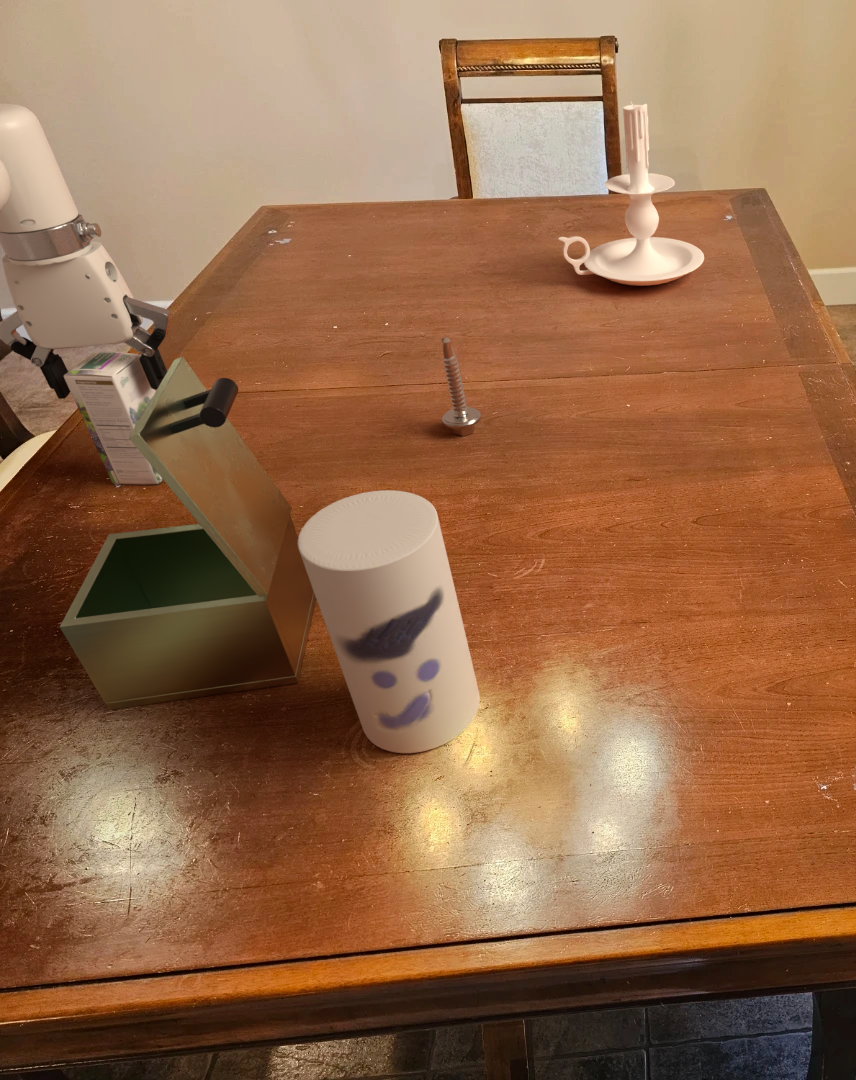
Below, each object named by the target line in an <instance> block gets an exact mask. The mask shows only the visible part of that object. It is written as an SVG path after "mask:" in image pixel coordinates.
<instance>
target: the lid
mask: <svg viewBox="0 0 856 1080" xmlns="http://www.w3.org/2000/svg"><path fill="white" fill-rule="evenodd" d="M155 391H156V392H155V394H154V396H153V397H152V399H151V401H150V402H149V404H148V406H147V408H146V409H145V411H144V413H143V414H142V416H141V418H140V419H139V421H138V423H137V425H136V426H135V428H134V430H133V431H132V433H131V435H130V437H129V438H130V440H131V441H132V442H133V443H134V445H135V446H136V447H137V448H138V449H139V451H140V452H141V453H142V454H143V456H144V457H145V458H146V459H147V461H148V462H149V463H150V464H151V465H152V467H153V468H154V469H155V470H156V472H157V473H158V474H159V475H160V476H161V478H162V479H163V480H162V481H164V483H165V484H166V485H167V486H168V487H169V489H170V490H171V491H172V493H173V494H174V495H175V496H176V497H177V499H178V500H179V501H180V503H181V504H182V505H183V506H184V507H185V509H187V511H188V512H189V513H190V515H191V516H192V517H193V518H194V519H195V521H196V522H197V524H200V525H201V527H202V528H203V529H204V530H205V532H206V533H207V534H208V535H209V536H210V538H211V539H212V540H213V541H214V543H215V544H216V545H217V546H218V547H219V549H220V550H221V551H222V552H223V554H224V555H225V556H226V557H227V558H228V560H229V561H230V562H231V563H232V565H233V566H234V567H235V568H236V570H237V571H238V572H239V573H240V574H241V576H242V577H243V578H244V579H245V581H246V582H247V583H248V584H249V585H250V587H251V588H252V589H253V590H254V592H255V593H256V594H257V595H258V596H259V597H262V596H265V595H267V594H268V592H269V588H270V585H271V581H272V578H273V574H274V571H275V567H276V563H277V560H278V556H279V553H280V549H281V546H282V542H283V538H284V535H285V531H286V528H287V524H288V521H289V517H290V516H291V514H292V510H293V507H292V505H291V504H290V503H289V502H288V500H287V499H286V498H285V496H284V495H283V493H282V492H281V491H280V489H279V488H278V486H277V485H276V484H275V482H274V480H273V479H272V478H271V477H270V475H269V474H268V472H267V471H266V469H265V468H264V467H263V466H262V464H261V463H260V462H259V460H258V459H257V457H256V455H255V454H254V453H253V452H252V450H251V449H250V448H249V446H248V444H247V443H246V442H245V441H244V439H243V438H242V436H241V435H240V434H239V432H238V431H237V429H236V428H235V427H234V426H233V425H234V424H232V423H231V421H230V419H228V417H229V414H230V411H231V409H232V407H233V404H234V402H235V400H236V398H237V395H238V393H239V386H238V384H237V383H236V381H234V380H233V379H231V378H230V377H229V378H228V377H220V378H217V379H216V380H215V381H214V382H213V385H212V387H211V389H207V388H206V387H205V385H204V384H203V382H202V381H201V380H200V378H199V377H198V375H197V374H196V373H195V371H194V370H193V369H192V367H191V366H190V364H189V363H188V362H187V360H186V359H185V357H184V356H181V357H178V358H175V359H173V361H172V363H171V365H170V367H169V368H168V369H167V373H166V375H165V377H164V378H163V380H162V382H161V384H160V385H159V387H158V389H156V390H155Z"/></svg>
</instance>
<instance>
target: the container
mask: <svg viewBox="0 0 856 1080" xmlns="http://www.w3.org/2000/svg"><path fill="white" fill-rule="evenodd" d="M438 515H439V514H438V512H437V509H436V508H435V506H434V505H433V503H431V501H429V500H428V499H427V498H424V497H423V496H421V495H418V494H415V493H412V492H408V491H402V490H388V489H387V490H385V489H384V490H383V489H382V490H373V491H367V492H362V493H357V494H353V495H350V496H347V497H343V498H341V499H339V500H337V501H334V502H332V503H330V504H328V505H326V506H325V507H323V508H321V509H320V510H318V511H317V512H316V513H315V514H313V515H312V516H311V517H310V518H309V519H308V520H307V521H306V522H305V523H304V525H303V526H302V528H301V529H300V531H299V534H298V535H297V536H298V549H299V551H300V554H301V557H302V560H303V563H304V565H305V568H306V571H307V574H308V577H309V579H310V582H311V585H312V588H313V591H314V593H315V596H316V602H317V605H318V606H319V610H320V613H321V616H322V618H323V621H324V625H325V627H326V629H327V633H328V635H329V638H330V641H331V644H332V646H333V650H334V652H335V654H336V655H335V656H336V658H337V660H338V663H339V666H340V669H341V672H342V675H343V677H344V680H345V683H346V685H347V688H348V692H349V694H350V697H351V699H352V700H351V701H352V702H353V703H352V704H353V705H354V708H355V711H356V714H357V717H358V719H359V722H360V725H361V729H362V731H363V734H364V735H365V736H366V738H367V739H368V740H369V741H370V742H371V743H372V744H373V745H374V746H377V747H378V748H380V749H381V750H385V751H387V752H391V753H399V754H413V753H421V752H422V753H423V752H426V751H430V750H433V749H436V748H438V747H441V746H443V745H445V744H447V743H449V742H450V741H452V740H454V739H456V738H457V737H458V736H459V735H461V734H462V733H463V732H464V731H465V730H467V728H468V727H469V726H470V725H471V723H473V721H474V720H475V718H476V715H477V714H478V712H479V709H480V703H481V694H480V690H479V686H478V681H477V677H476V673H475V670H474V669H475V668H474V665H473V661H472V656H471V652H470V648H469V643H468V639H467V635H466V631H465V626H464V622H463V617H462V613H461V609H460V605H459V599H458V597H457V593H456V588H455V583H454V580H453V575H452V571H451V570H452V569H451V567H450V566H451V565H450V562H449V557H448V553H447V550H446V545H445V541H444V537H443V532H442V528H441V523H440V520H439V516H438Z"/></svg>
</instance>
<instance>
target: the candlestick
mask: <svg viewBox="0 0 856 1080" xmlns="http://www.w3.org/2000/svg"><path fill="white" fill-rule="evenodd" d="M629 103H630V104H628V105H625V106H623V107H622V111H623V127H624V143H625V159H626V160H625V161H626V170H627V171H628V173H626V174H625V173H624V174H620V175H616V176H612V177H611V178H609V179H607V180H606V181H605V182H604V187H605V188H606V189H608V190H609V191H611V192H614V193H619V194H623V195H624V194H625V195H628V197H629V199H630V200H629V205H628V207H627V208H626V211H625V214H624V224H625V225H626V228H627V231H628V232H629V233H630V235H632V237H628V238H621V239H617V240H612V241H608V242H605V243H601V244H600V245H597V246H595V247H594V248H592V249H591V248H590V245H589V242H588V241H587V240H586V239H585V238H584V237H583V236H579V235H575V236H570V237H565V236H559V237H557V239H558V241H559V242H563V244H562V248H561V249H562V251H561V253H562V256H563V258H564V259H565V260H566V261H567V262H568V263H569V264H571V265H572V266H573V267H572V268H573V269H574V272H575V273H576V274H577V275H581V276H586V275H597V276H600V277H603V278H605V279H607V280H609V281H611V282H615V283H618V284H621V285H628V286H636V287H637V286H642V287H643V286H656V285H661V284H667V283H669V282H672V281H675V280H678V279H680V278H681V277H684V276H685V275H687V274H690V273H691V272H693V271H695V270H696V269H699V267H700V266H702V264H703V263H704V260H705V255H704V252H703V251H702V250H701V249H700V248H699V247H697V246H695V245H694V244H692V243H689V242H687V241H684V240H679V239H676V238H669V237H659V236H653V235H654V234H655V233H656V231H657V229H658V226H659V223H660V216H659V213H658V210H657V209H656V207H655V205H654V204H653V202H652V196H653V195H654V194H657V193H661V192H665V191H666V190H670V189H671V188H673V187H674V186H675V183H676V181H675V180H674V179H673V178H671V177H670V176H667V175H665V174H660V173H654V172H653V173H651V172H649V168H650V164H649V151H650V140H649V139H650V138H649V115H648V103H643V104H633V102H632V101H630V100H629ZM575 242H580V243H582V244H583V246H584V253H583V255H582V256H581V257H580V258H577V259H576V258H575V259H573V258H572V257H570V256H569V255H568V249H569V246H570V245H572V244H573V243H575ZM582 264H583V265H584V267H585V268H586V269H584V270H581V269H580V266H581V265H582Z"/></svg>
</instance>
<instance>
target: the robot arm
mask: <svg viewBox="0 0 856 1080" xmlns="http://www.w3.org/2000/svg"><path fill="white" fill-rule="evenodd" d="M48 140H49V139H48V137H47V135H46V134H45V131H44V129H43V127H42V125H41V122H40V121H39V119H38V117H37V115H36V114H35V113H34V112H33V111H32V110H30V109H28V108H27V107H25V106H24V105H20V104H14V103H5V102H4V103H2V102H1V103H0V245H1V248H2V250H3V252H4V254H5V255H3V257H2V258H1V259H2V260H1V262H2V268H3V271H4V276H5V280H6V283H7V286H8V289H9V293H10V296H11V299H12V301H13V304H14V307H15V309H16V311H14V312H13V313H12V314H10V315H8V316H7V317H6V318H4V319H2V320H1V321H0V340H1V341H2V342H3V343H4V344H5V345H7V346H9V347H10V349H11V351H12V352H14V353H15V354H17V355H19V356H21V357H23V358H25V359H27V360H29V361H30V363H31V365H33V366H34V367H38V368H39V369H40V371H41V373H42V374H43V377H44V378H45V381H46V383H47V384H48V387H49V388H50V390H53V391H54V393H55V395H56V397H57V398H58V400H63V399H66V398H67V397H68V396H69V395H70V394H71V392H70V389H69V387H68V385H67V383H66V381H65V379H64V375H65V374H66V373H67V372H69V370H68V368H67V366H66V364H65V362H64V360H63V358H62V356H60V355H59V353H54V351H55V350H63V349H76V348H87V347H98V346H109V345H116V344H117V345H118V344H126V345H127V346H129V347H130V348H132V349H133V350H135V351H136V352H138V353H140V355H141V357H140V363H141V365H142V367H143V370H144V372H145V374H146V377H147V379H148V381H149V384H150V386H151V388H152V389H154V390H155V391H156V390H157V389H158V387H159V385H160V384H161V382H162V380H163V378H164V377H165V375H166V373H167V372H168V369H167V367H166V364H165V362H164V360H163V357H162V355H161V352H160V350H159V347H160V345H161V344H162V343H163V341H164V340H165V338H166V337H167V335H168V333H169V327H170V322H171V316H172V313H171V311H170V309H167V308H164V307H161V306H158V305H156V304H155V305H154V304H151V303H149V302H145V301H142V300H139V299H135V298H134V295H133V293H132V291H131V290H130V288H129V286H128V284H127V282H126V281H125V278H124V276H123V274H122V273H121V272H120V271H121V270H119V268H118V266H117V265H116V263H115V262H114V260H113V258H112V257H111V255H110V254H109V252H108V251H107V250H106V248H105V247H104V245H103V244H102V243H101V242H100V241H92V240H93V239H94V238H101V236H102V230H101V227H100V224H98V223H95V222H94V223H93V222H92V223H90V222H86V221H85V219H84V217H83V214H80V213H79V210H78V208H77V206H76V203H75V201H74V198H73V197H72V193H71V192H70V189H69V187H68V185H67V183H66V179H65V178H64V176H63V173H62V171H61V168H60V166H59V163H58V161H57V159H56V157H55V154H54V152H53V150H52V148H51V145H50V143H49V141H48ZM143 318H144V319H147V320H150V321H151V322H153V330H152V333H151V332H150V331H148V330H146V329H145V328H144V327H142V326H141V325H143V322H144V321H143ZM21 326H23V327H24V329H25V332H26V333H27V336H28V337H29V338H30V339H28V338H26V337H24V336H22V335H21V334H20V333H19V331H17V329H18V328H20V327H21Z"/></svg>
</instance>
